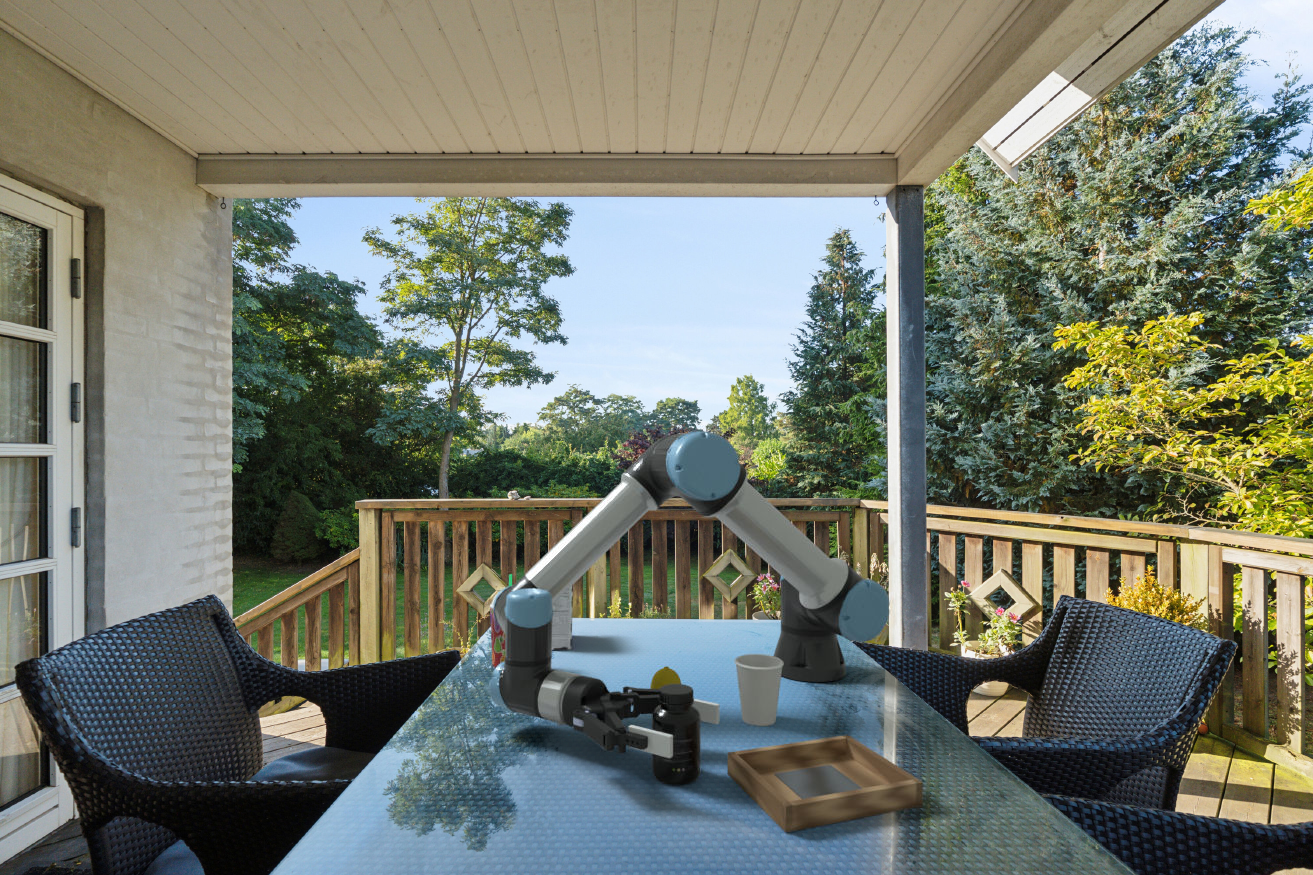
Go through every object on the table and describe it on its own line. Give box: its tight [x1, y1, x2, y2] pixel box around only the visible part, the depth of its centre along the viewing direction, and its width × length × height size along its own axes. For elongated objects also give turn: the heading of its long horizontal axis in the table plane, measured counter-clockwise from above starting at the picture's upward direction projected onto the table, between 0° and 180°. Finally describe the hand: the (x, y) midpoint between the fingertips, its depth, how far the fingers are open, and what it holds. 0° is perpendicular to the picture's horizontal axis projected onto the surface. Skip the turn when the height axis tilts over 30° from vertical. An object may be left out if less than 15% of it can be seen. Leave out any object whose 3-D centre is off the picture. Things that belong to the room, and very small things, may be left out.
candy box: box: [552, 584, 574, 651], centre depth 165 cm, size 14×6×16 cm, turn 14°
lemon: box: [649, 665, 682, 689], centre depth 119 cm, size 6×6×8 cm
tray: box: [727, 734, 924, 834], centre depth 91 cm, size 20×16×3 cm
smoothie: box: [489, 573, 513, 669], centre depth 143 cm, size 8×8×20 cm
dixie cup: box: [734, 653, 784, 727], centre depth 116 cm, size 8×8×10 cm
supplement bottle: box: [651, 683, 702, 786], centre depth 95 cm, size 7×7×12 cm
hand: (696, 729), depth 93 cm, fingers open, 13 cm apart
